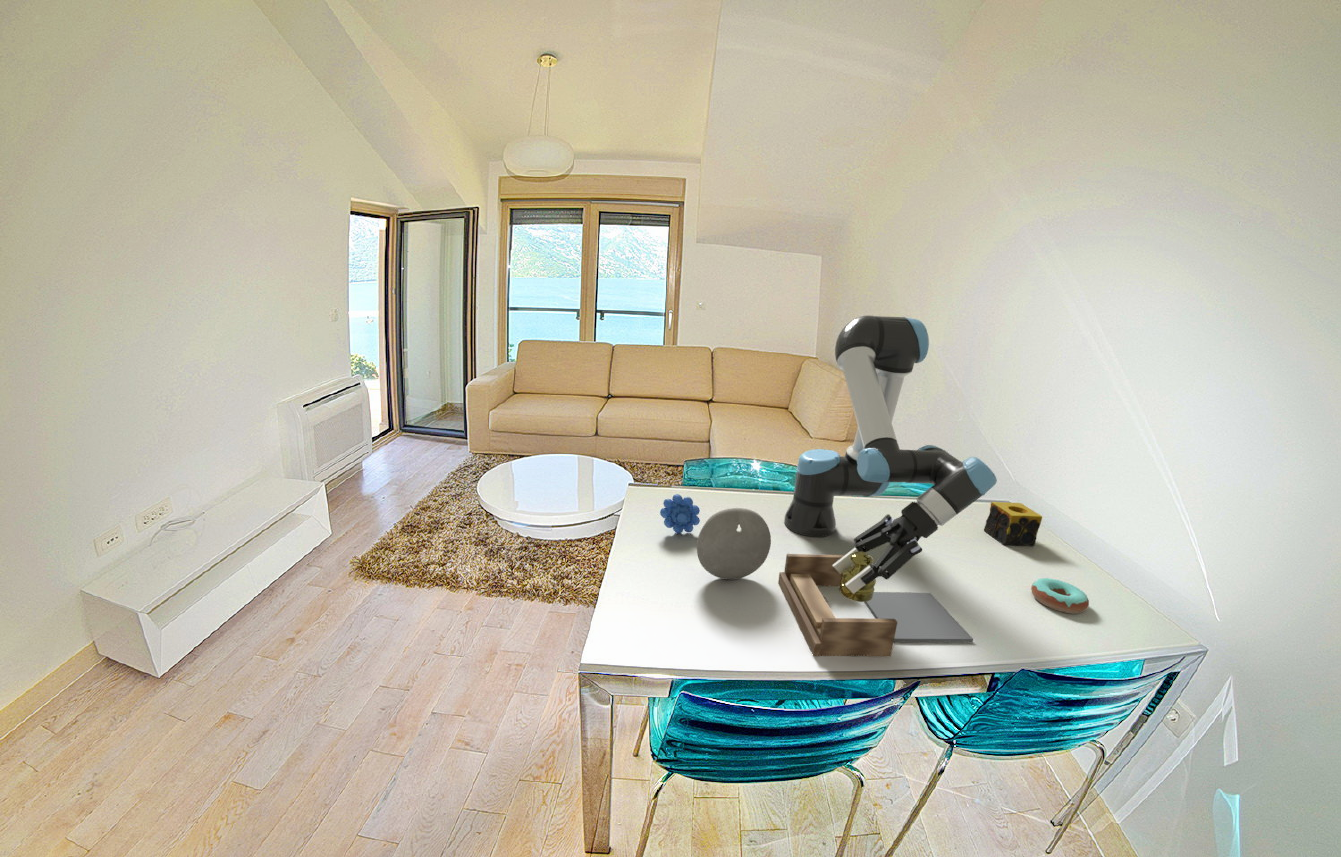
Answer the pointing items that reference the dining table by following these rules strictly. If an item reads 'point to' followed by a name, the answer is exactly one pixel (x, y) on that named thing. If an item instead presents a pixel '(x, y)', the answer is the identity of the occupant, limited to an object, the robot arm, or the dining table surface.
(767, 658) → the dining table surface
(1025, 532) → the yellow brown cube
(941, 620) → the charcoal mat
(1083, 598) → the donut
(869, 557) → the gold rounded piece
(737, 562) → the grey thick disc
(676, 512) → the blue flower
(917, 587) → the dining table surface
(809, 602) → the offcut rack
